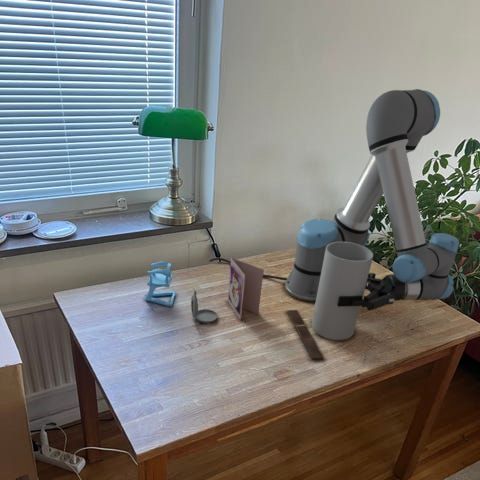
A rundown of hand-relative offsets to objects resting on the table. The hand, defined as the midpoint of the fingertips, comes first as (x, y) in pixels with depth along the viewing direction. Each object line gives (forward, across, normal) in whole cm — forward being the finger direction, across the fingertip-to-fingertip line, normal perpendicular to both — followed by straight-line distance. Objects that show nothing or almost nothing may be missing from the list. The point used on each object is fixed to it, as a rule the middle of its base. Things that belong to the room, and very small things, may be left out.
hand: (329, 289), depth 131 cm
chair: (+45, +20, -14) cm, 52 cm away
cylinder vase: (-3, 0, -14) cm, 14 cm away
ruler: (+6, -2, -14) cm, 15 cm away
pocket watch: (+34, +9, -14) cm, 38 cm away
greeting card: (+21, +13, -14) cm, 28 cm away
